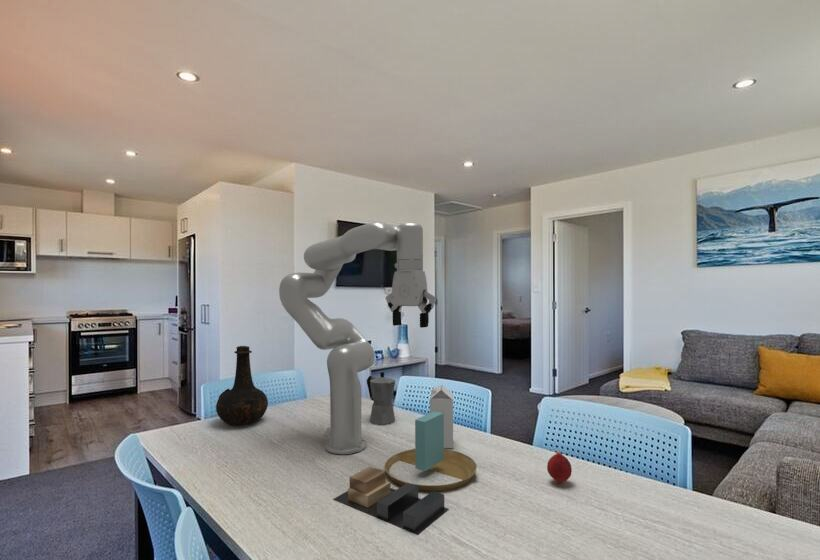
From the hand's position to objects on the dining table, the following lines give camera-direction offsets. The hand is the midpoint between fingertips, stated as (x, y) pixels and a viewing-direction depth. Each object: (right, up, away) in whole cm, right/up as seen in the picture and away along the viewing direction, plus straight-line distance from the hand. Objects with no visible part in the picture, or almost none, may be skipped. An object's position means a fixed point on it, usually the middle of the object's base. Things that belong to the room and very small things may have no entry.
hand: (410, 326), depth 123 cm
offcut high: (-10, -35, -23) cm, 43 cm away
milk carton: (+10, -39, +11) cm, 41 cm away
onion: (+38, -38, -15) cm, 56 cm away
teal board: (+5, -35, -10) cm, 37 cm away
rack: (-5, -38, -27) cm, 47 cm away
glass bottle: (-62, -39, +34) cm, 80 cm away
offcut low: (-9, -37, -24) cm, 45 cm away
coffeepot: (-11, -39, +35) cm, 54 cm away
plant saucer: (+5, -39, -10) cm, 40 cm away
